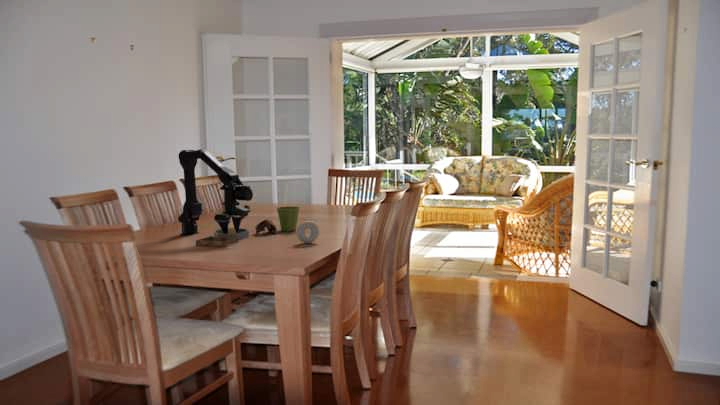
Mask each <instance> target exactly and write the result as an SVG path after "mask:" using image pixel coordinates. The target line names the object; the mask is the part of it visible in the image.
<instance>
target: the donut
mask: <svg viewBox="0 0 720 405" xmlns="http://www.w3.org/2000/svg"><path fill="white" fill-rule="evenodd" d="M319 228H320V227H318V224H316V222H314V221H313V220H305V221H302V222H300V223H299V225H298V226H297V227H296V236H297V239H298V240H299V241H300V242H301V243H303V244H312V243H314V242H315V241H316V240H317V238H318V237H319V234H320V230H319ZM307 229H309V230H310V231H311V232H310V234H309V235H306V234H305V232H306V230H307Z"/></svg>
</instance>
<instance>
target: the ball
mask: <svg viewBox="0 0 720 405" xmlns="http://www.w3.org/2000/svg"><path fill="white" fill-rule="evenodd" d="M229 228H230V229H228V234H232V233H236V230H235V229H234V227H229Z"/></svg>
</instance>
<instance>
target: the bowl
mask: <svg viewBox="0 0 720 405" xmlns="http://www.w3.org/2000/svg"><path fill="white" fill-rule="evenodd" d="M230 228H231V227H228V229H230ZM249 233H250V232H249V229H248V228H240V227H239V230H238V232H236V233H232V234H225V233H223V231H222V229H221V228H219V229H215V230H213V236H216V237H231V238H238V240H244V239H247V238H249V237H250V234H249Z"/></svg>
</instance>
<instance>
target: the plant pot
mask: <svg viewBox="0 0 720 405" xmlns="http://www.w3.org/2000/svg"><path fill="white" fill-rule="evenodd" d="M275 209H276V211H277V214H278V220H279V224H280V230H281V231H283V232H292V231H293V232H295V231H297V227H298V226H297V224H298V216H299V213H300V212H299V211H300V209H301V207H300V206H290V205H289V206H279V207H278V206H277V207H276V208H275Z"/></svg>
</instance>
